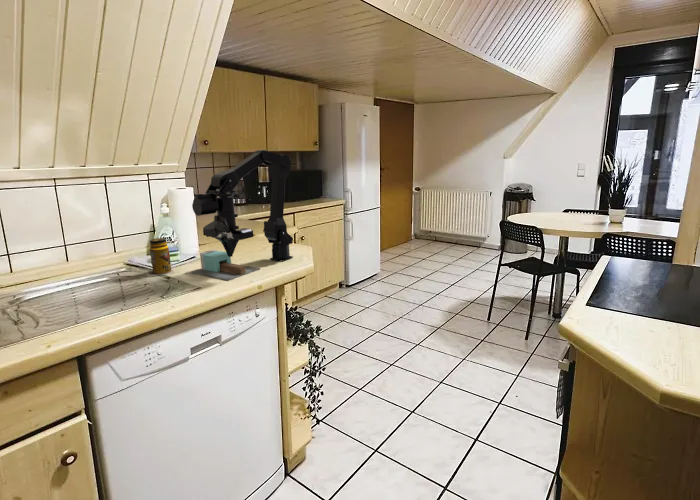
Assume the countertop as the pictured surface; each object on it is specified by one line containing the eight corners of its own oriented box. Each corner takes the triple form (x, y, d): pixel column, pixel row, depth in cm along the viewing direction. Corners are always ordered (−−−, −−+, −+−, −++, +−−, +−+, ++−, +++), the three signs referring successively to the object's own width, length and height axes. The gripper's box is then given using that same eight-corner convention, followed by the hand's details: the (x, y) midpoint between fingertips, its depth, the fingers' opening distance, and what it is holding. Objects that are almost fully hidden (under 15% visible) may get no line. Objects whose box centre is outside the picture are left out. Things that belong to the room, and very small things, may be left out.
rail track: (223, 262, 153) (221, 246, 152) (260, 269, 144) (258, 252, 142) (189, 273, 141) (187, 255, 140) (227, 280, 131) (225, 262, 130)
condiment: (174, 272, 142) (170, 239, 139) (148, 277, 138) (143, 243, 135) (170, 268, 148) (166, 236, 145) (145, 272, 143) (140, 239, 141)
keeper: (220, 265, 148) (218, 250, 147) (231, 267, 145) (230, 252, 144) (204, 269, 143) (203, 255, 142) (216, 272, 140) (214, 257, 138)
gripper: (187, 213, 134) (192, 258, 137) (226, 217, 124) (231, 265, 128) (214, 209, 143) (218, 251, 146) (252, 212, 133) (256, 257, 137)
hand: (230, 256), depth 139 cm, fingers closed
